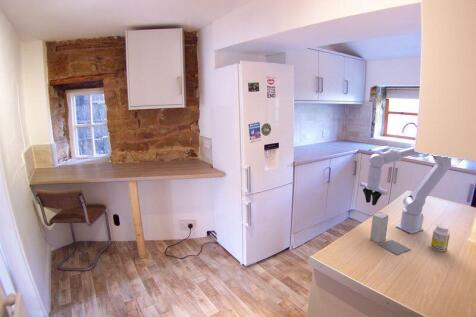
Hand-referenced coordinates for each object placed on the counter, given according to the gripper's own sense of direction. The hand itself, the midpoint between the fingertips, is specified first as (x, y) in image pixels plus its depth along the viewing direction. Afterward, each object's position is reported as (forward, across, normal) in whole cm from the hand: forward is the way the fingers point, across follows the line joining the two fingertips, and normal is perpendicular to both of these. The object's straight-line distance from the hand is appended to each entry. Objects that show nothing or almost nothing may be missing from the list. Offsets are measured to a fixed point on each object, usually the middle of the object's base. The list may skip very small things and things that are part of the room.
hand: (371, 203), depth 135 cm
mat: (+10, +21, -10) cm, 25 cm away
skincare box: (+11, +13, -10) cm, 20 cm away
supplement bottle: (+11, +29, +7) cm, 32 cm away
